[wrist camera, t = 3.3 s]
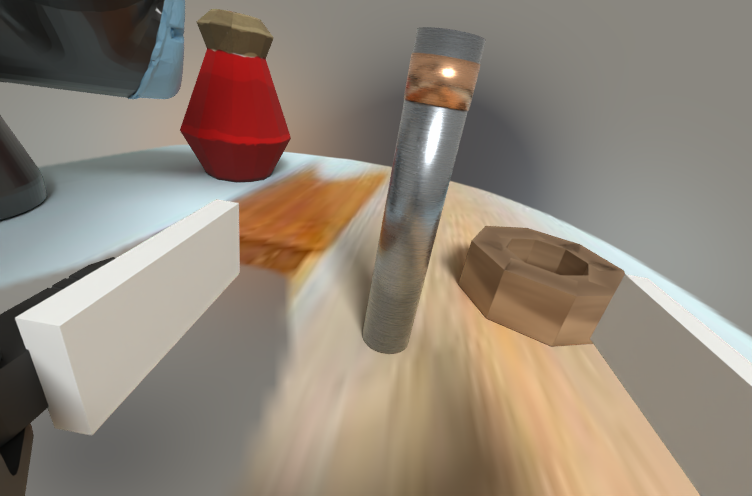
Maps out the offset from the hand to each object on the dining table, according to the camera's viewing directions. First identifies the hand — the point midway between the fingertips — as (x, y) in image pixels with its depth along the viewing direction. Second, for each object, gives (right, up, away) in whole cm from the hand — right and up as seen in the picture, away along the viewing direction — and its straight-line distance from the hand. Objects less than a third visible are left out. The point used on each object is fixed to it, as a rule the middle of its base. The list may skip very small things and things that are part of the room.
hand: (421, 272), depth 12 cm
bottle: (-22, +12, +40) cm, 47 cm away
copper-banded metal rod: (-1, -5, +12) cm, 13 cm away
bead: (+12, -4, +20) cm, 24 cm away
